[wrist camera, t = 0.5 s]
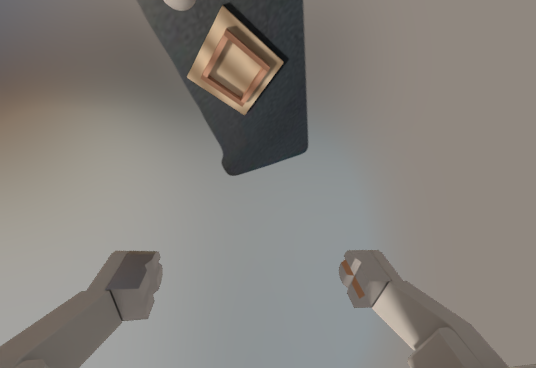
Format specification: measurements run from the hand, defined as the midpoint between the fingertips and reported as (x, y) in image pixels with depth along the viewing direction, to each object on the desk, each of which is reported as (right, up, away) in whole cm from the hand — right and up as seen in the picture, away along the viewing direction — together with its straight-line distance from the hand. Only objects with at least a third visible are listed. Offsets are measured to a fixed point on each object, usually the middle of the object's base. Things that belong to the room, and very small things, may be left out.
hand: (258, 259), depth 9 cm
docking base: (-7, +29, +36) cm, 47 cm away
